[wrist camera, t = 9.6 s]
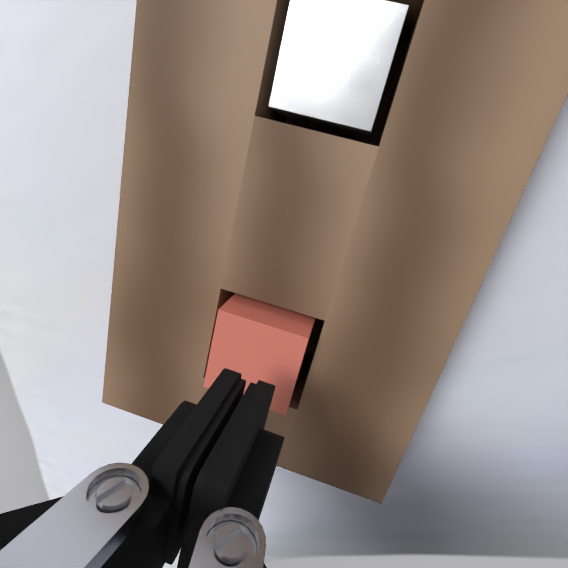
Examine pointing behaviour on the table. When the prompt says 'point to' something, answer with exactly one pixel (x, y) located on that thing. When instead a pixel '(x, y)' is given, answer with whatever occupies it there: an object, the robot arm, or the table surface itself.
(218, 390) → the robot arm
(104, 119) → the table surface
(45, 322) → the table surface
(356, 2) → the grey plug
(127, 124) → the block
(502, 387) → the table surface
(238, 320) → the red plug
